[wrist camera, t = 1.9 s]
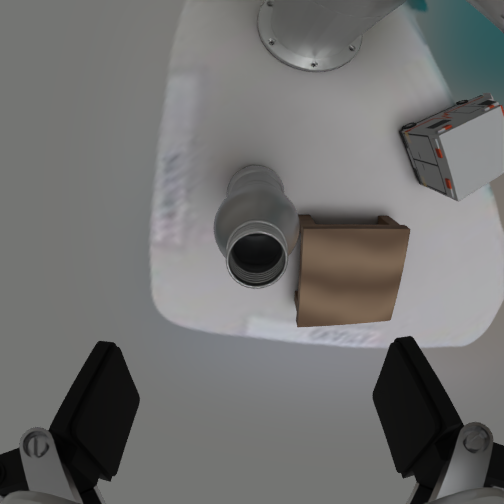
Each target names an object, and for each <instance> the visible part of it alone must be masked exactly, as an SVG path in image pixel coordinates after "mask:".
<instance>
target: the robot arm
mask: <svg viewBox="0 0 504 504" xmlns="http://www.w3.org/2000/svg"><path fill="white" fill-rule="evenodd" d="M405 1H406V0H265V2H264V3H263V5H262V6H261V8H260V11H259V14H258V31H259V34H260V37H261V39H262V41H263V43H264V45H265V46H266V48H267V49H268V50H269V51H270V53H272V54H273V55H274V56H275V57H276V58H277V59H279V60H280V61H282V62H283V63H285V64H287V65H289V66H291V67H294V68H296V69H300V70H304V71H310V72H326V71H330V70H334V69H337V68H339V67H341V66H343V65H344V64H346V63H348V62H349V61H350V60H351V59H352V58H353V57H354V56H355V55H356V54H357V52H358V51H359V48H360V46H361V43H362V34H363V33H364V32H365V31H367V30H368V29H369V28H370V27H372V26H373V25H374V24H376V23H377V22H378V21H380V20H381V19H382V18H384V17H385V16H386V15H388V14H389V13H391V12H392V11H393V10H395V9H396V8H398V7H399V6H400V5H402V4H403V3H404V2H405ZM466 1H467V2H469V3H470V4H471V5H472V6H473V7H475V8H476V9H477V10H478V11H479V12H481V13H482V14H483V15H484V16H485V17H486V18H487V19H489V20H490V21H491V22H492V23H493V24H494V25H495V26H496V27H498V28H499V29H500V30H501V31H502V32H503V33H504V0H466ZM269 5H271V6H272V7H269ZM270 42H273V43H274V44H273V45H270V44H269V43H270ZM349 48H350V49H352V51H350V50H349ZM311 64H314V65H315V67H312V66H311ZM139 401H140V397H139V394H138V392H137V389H136V387H135V384H134V382H133V380H132V377H131V375H130V373H129V370H128V367H127V365H126V362H125V360H124V357H123V355H122V352H121V350H120V348H119V347H117V346H116V344H115V343H113V342H105V341H99V342H97V344H96V345H95V347H94V349H93V350H92V352H91V353H90V355H89V357H88V359H87V360H86V362H85V364H84V366H83V367H82V369H81V371H80V372H79V374H78V376H77V378H76V379H75V381H74V383H73V384H72V386H71V388H70V390H69V392H68V393H67V396H66V397H65V399H64V401H63V403H62V405H61V406H60V408H59V410H58V412H57V414H56V416H55V418H54V420H53V422H52V424H51V426H50V428H49V430H46V429H44V428H40V427H35V428H31V429H29V430H27V431H26V432H25V433H24V434H23V436H22V437H21V439H20V443H19V445H20V446H19V448H17V449H14V450H12V451H9V452H6V453H3V454H1V455H0V504H106V503H105V501H104V499H103V497H102V495H101V493H100V491H99V489H98V487H97V482H98V479H99V478H100V479H103V480H106V481H111V478H112V476H115V475H116V474H117V471H118V468H119V465H120V461H121V458H122V455H123V452H124V448H125V445H126V442H127V439H128V436H129V433H130V430H131V427H132V423H133V421H134V417H135V415H136V411H137V409H138V406H139ZM373 401H374V404H375V407H376V410H377V413H378V416H379V418H380V421H381V424H382V427H383V430H384V433H385V436H386V439H387V442H388V445H389V448H390V451H391V455H392V457H393V461H394V464H395V467H396V470H397V472H398V473H401V474H402V477H403V478H406V477H410V476H413V475H415V478H416V481H417V482H416V485H415V487H414V489H413V491H412V493H411V495H410V497H409V499H408V501H407V503H406V504H504V446H503V445H500V444H497V443H494V442H493V435H492V433H491V431H490V429H489V428H488V427H487V426H485V425H484V424H481V423H479V422H472V423H468V424H466V425H465V426H464V425H463V423H462V421H461V419H460V417H459V415H458V413H457V411H456V409H455V408H454V406H453V404H452V402H451V400H450V398H449V396H448V395H447V393H446V392H445V389H444V388H443V386H442V384H441V382H440V381H439V379H438V377H437V375H436V374H435V372H434V371H433V369H432V368H431V366H430V364H429V363H428V361H427V359H426V357H425V356H424V354H423V353H422V351H421V349H420V348H419V346H418V345H417V343H416V341H415V340H414V338H413V337H411V336H408V337H401V338H396V339H395V340H394V343H391V344H390V346H389V349H388V352H387V356H386V358H385V361H384V364H383V367H382V370H381V372H380V375H379V378H378V380H377V383H376V386H375V388H374V391H373Z"/></svg>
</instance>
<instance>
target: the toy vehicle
mask: <svg viewBox="0 0 504 504" xmlns="http://www.w3.org/2000/svg"><path fill="white" fill-rule="evenodd" d="M456 104H457V106H455V107H452V108H450V109H448V110H445V111H443V112H441V113H439V114H436V115H434V116H432V117H430V118H428V119H425V120H423V121H421V122H419V123H417V124H416V123H410V124H407V125H405V126H403V130H402V131H400V133H401V136H402V138H403V141H404V143H405V146H406V148H407V151H408V153H409V156H410V159H411V161H412V164H413V167H414V170H415V173H416V175H417V178H418V181H419V184H421V185H423V186H426V187H428V188H430V189H432V190H435V191H437V192H439V193H441V194H443V195H445V196H448V197H450V198H452V199H454V200H456V201H460V200H462V199H463V198H465V197H467V196H468V195H470V194H471V193H473V192H475V191H476V190H478V189H479V188H481V187H482V186H484V185H486V184H487V183H489V182H490V181H492V180H493V179H495V178H496V177H498V176H499V175H501V174H502V173H504V110H503V107H502V105H499V103H498V102H497V101H494V99H493V96H491V93H483V96H482V95H480V96H478V97H475V98H473V99H471V100H462V101H459V102H457V103H456Z"/></svg>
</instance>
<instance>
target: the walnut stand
mask: <svg viewBox="0 0 504 504" xmlns="http://www.w3.org/2000/svg"><path fill="white" fill-rule="evenodd" d="M298 217H299V224H300V229H299V231H300V233H301V250H300V270H299V287H298V291H295V297H294V301H295V305H296V310H297V316H296V322H297V327H313V326H330V325H345V324H358V323H369V322H380V321H389V320H391V317H392V313H393V309H394V305H395V302H396V298H397V293H398V289H399V285H400V281H401V276H402V272H403V267H404V262H405V257H406V251H407V246H408V240H409V234H410V229H409V228H408V227H407V226H405V225H400V224H398V223H397V222H396V221H394V220H393V219H392V218H390V217H389V216H378V224H377V225H359V224H315V223H314V221H313V219H312V218H311V216H310V215H298Z"/></svg>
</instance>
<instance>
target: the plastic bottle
mask: <svg viewBox="0 0 504 504" xmlns="http://www.w3.org/2000/svg"><path fill="white" fill-rule="evenodd" d="M299 229H300V224H299V217H298V213H297V210H296V208H295V207H294V205H293V203H292V202H291V201H290V200H289V198H288V197H287V196H286V195H285V194H284V187H283V184H282V181H281V180H280V178H279V176H278V175H277V174H276V173H275V172H274V171H272V170H271V169H269V168H267V167H263V166H249V167H246V168H243V169H242V170H240V171H239V172H237V173H236V174H235V175H234V176H233V178H232V179H231V181H230V183H229V185H228V189H227V198H226V199H225V200H224V202H223V203H222V204H221V206H220V207H219V209H218V212H217V214H216V217H215V221H214V235H215V240H216V243H217V245H218V247H219V249H220V251H221V253H222V254H223V256H224V257H225V258H226V265H227V269H228V271H229V274H230V275H231V277H232V278H233V279H234V280H235V281H236V282H237V283H239V284H240V285H242V286H245V287H248V288H257V289H258V288H264V287H267V286H270V285H272V284H274V283H275V282H276V281H278V280H279V279H280V278H281V276H282V275H283V274H284V272H285V270H286V267H287V263H288V256H289V255H290V254H291V252H292V250H293V248H294V247H295V244H296V242H297V239H298V236H299Z"/></svg>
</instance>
